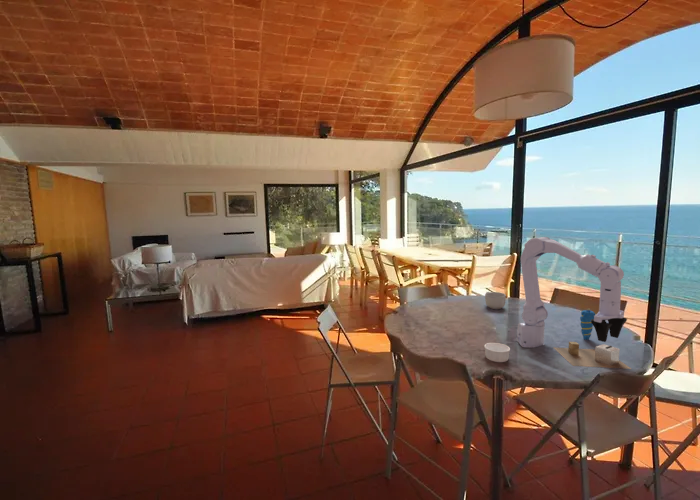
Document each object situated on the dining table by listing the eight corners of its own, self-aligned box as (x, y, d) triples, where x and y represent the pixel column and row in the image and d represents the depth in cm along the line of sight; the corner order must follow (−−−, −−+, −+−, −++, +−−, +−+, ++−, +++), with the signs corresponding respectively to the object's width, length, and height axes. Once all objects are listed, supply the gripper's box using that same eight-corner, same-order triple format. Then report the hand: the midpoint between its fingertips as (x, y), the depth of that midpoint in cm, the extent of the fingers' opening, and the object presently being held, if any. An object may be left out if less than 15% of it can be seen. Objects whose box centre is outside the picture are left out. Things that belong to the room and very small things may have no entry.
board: (572, 369, 116) (573, 354, 116) (552, 351, 132) (553, 337, 131) (631, 373, 113) (632, 357, 113) (604, 353, 129) (605, 339, 128)
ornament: (579, 339, 144) (581, 304, 142) (594, 342, 140) (596, 306, 139) (577, 343, 140) (580, 307, 138) (593, 345, 136) (595, 309, 135)
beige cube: (610, 365, 116) (611, 350, 115) (594, 360, 120) (595, 345, 119) (618, 362, 118) (619, 348, 117) (602, 357, 122) (603, 343, 122)
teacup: (508, 310, 187) (509, 296, 186) (489, 310, 187) (489, 296, 186) (498, 303, 201) (498, 290, 200) (479, 303, 201) (480, 290, 200)
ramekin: (481, 359, 126) (481, 348, 125) (486, 351, 133) (487, 340, 133) (507, 365, 121) (508, 353, 120) (511, 356, 128) (511, 345, 128)
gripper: (611, 306, 110) (609, 346, 111) (634, 300, 116) (632, 338, 118) (588, 301, 116) (586, 340, 118) (611, 296, 123) (609, 332, 124)
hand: (608, 339), depth 118 cm, fingers open, 7 cm apart
